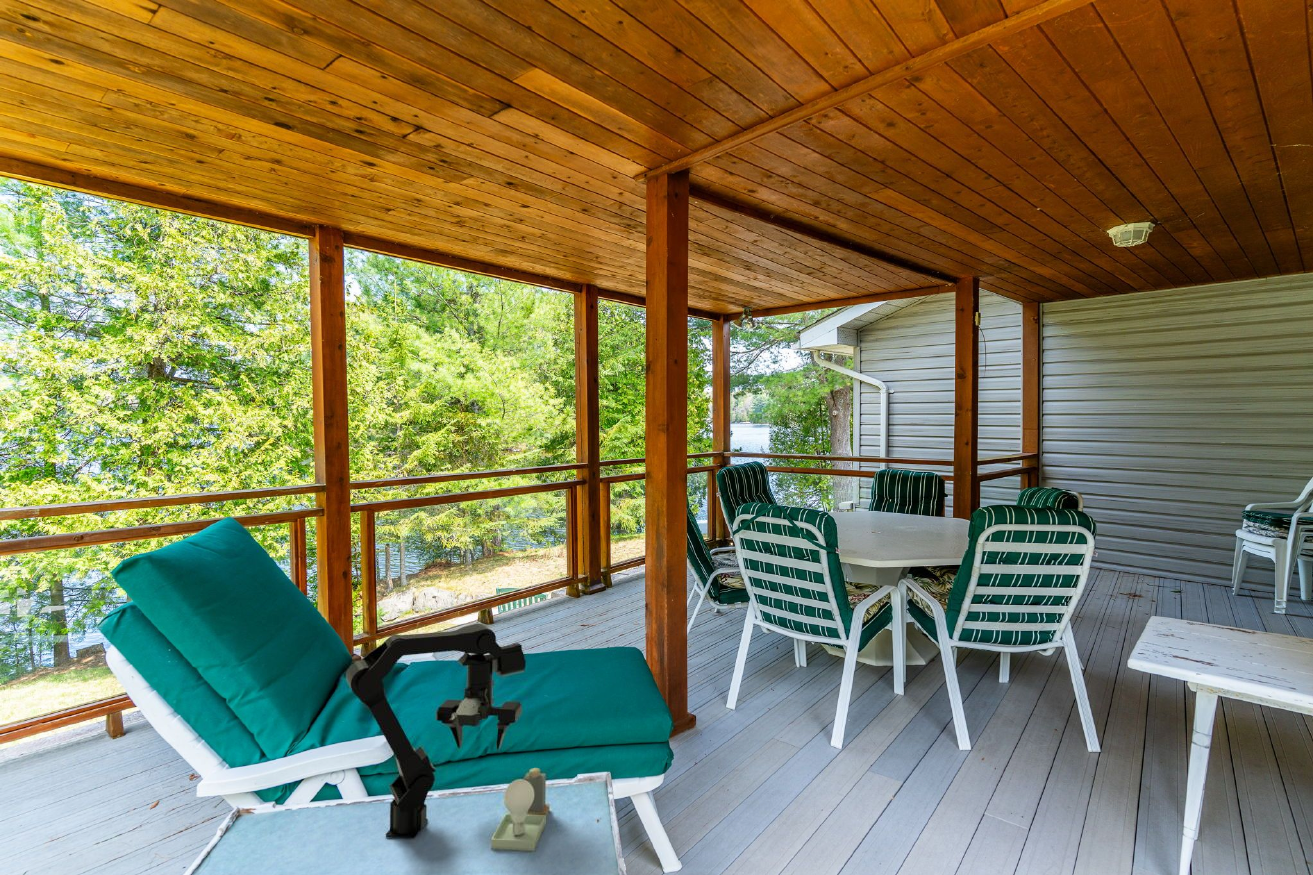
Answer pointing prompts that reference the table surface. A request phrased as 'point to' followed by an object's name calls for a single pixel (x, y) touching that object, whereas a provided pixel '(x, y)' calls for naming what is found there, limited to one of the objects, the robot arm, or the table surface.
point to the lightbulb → (518, 803)
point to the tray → (523, 842)
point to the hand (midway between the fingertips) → (479, 748)
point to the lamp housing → (537, 792)
